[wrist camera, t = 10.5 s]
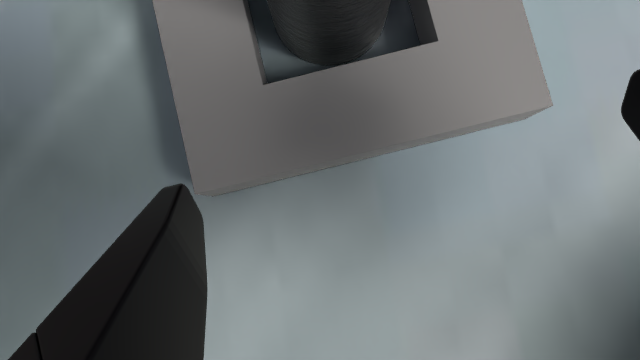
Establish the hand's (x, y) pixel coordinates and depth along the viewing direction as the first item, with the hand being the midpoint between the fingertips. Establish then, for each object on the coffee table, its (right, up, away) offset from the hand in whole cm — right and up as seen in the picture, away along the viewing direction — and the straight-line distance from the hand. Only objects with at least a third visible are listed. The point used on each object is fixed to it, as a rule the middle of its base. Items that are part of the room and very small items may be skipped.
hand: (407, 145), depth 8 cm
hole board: (-1, +6, +8) cm, 10 cm away
